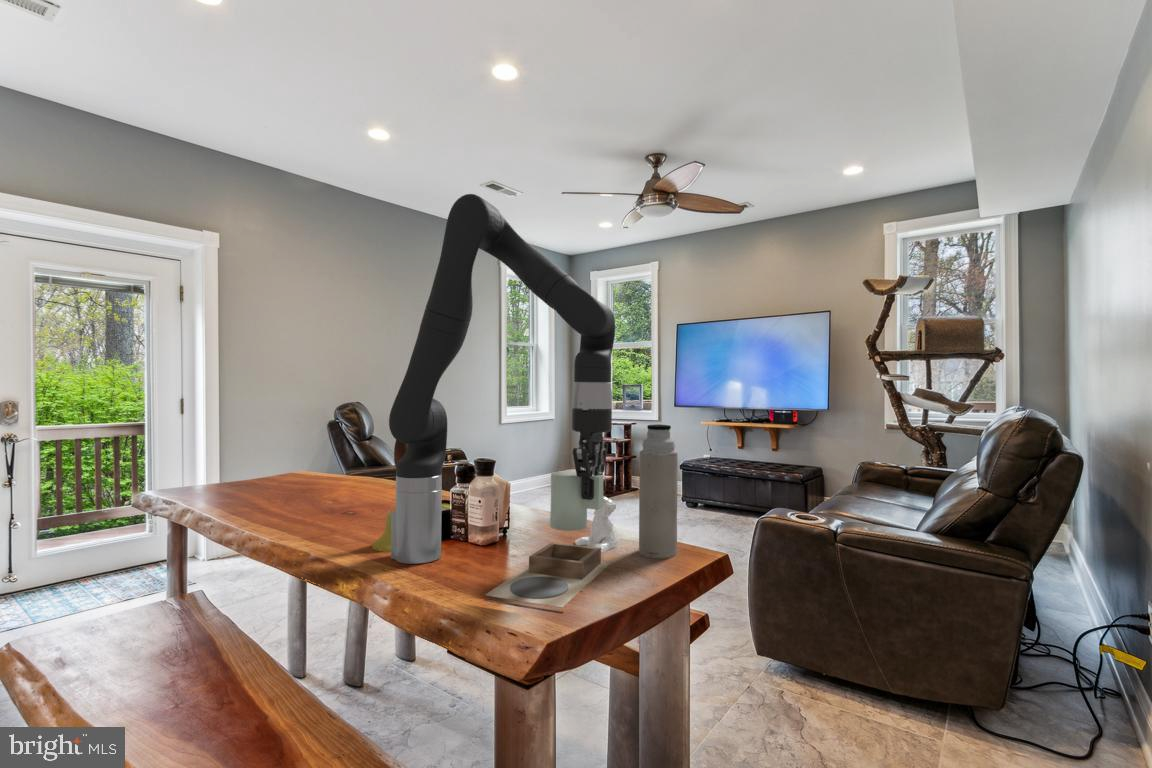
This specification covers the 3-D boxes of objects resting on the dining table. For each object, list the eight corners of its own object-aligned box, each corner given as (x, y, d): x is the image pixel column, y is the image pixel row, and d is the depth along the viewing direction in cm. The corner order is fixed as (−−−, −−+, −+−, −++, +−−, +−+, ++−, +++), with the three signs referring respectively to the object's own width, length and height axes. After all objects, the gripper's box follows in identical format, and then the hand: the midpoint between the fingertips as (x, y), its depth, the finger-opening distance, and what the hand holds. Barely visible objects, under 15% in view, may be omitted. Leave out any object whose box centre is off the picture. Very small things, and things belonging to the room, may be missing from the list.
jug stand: (484, 600, 94) (484, 576, 94) (544, 560, 116) (544, 541, 116) (561, 613, 89) (562, 588, 89) (609, 569, 111) (609, 548, 111)
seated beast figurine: (572, 547, 126) (572, 494, 126) (604, 543, 130) (605, 490, 130) (594, 559, 118) (594, 501, 118) (628, 553, 122) (628, 498, 122)
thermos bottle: (631, 557, 119) (632, 424, 119) (651, 549, 125) (652, 423, 125) (664, 565, 114) (665, 426, 114) (683, 556, 120) (684, 424, 120)
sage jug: (544, 528, 107) (545, 475, 107) (558, 520, 113) (559, 470, 113) (594, 534, 103) (595, 479, 103) (606, 525, 110) (607, 474, 110)
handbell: (367, 553, 121) (369, 436, 121) (376, 538, 133) (377, 431, 133) (427, 550, 123) (428, 435, 123) (430, 536, 135) (431, 431, 135)
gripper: (586, 405, 115) (584, 490, 115) (559, 406, 102) (557, 502, 102) (621, 406, 112) (620, 493, 112) (598, 408, 99) (596, 506, 99)
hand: (590, 497), depth 107 cm, fingers closed on sage jug, 2 cm apart
